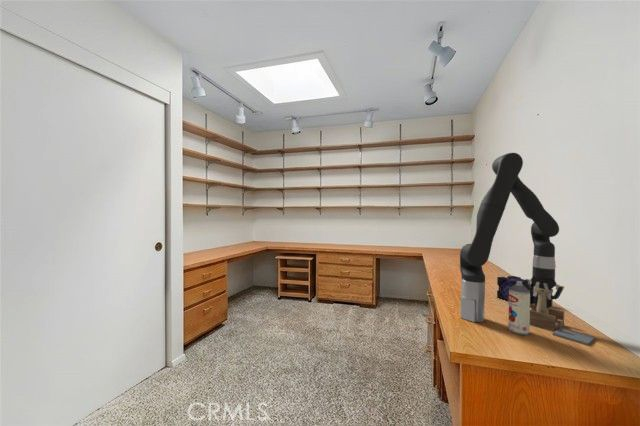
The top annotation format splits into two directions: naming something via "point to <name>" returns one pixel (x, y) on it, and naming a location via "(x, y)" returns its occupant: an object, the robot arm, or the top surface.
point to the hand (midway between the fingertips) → (542, 306)
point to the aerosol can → (519, 309)
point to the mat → (574, 336)
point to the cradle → (547, 319)
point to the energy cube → (505, 286)
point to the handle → (542, 300)
